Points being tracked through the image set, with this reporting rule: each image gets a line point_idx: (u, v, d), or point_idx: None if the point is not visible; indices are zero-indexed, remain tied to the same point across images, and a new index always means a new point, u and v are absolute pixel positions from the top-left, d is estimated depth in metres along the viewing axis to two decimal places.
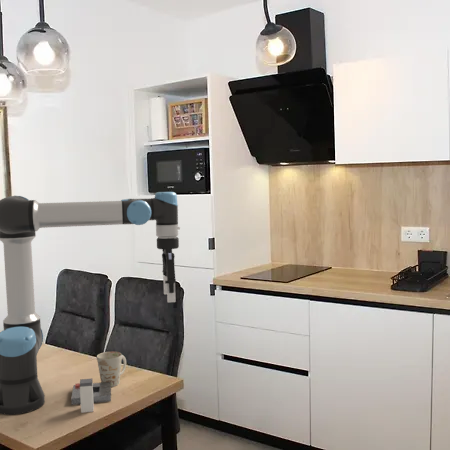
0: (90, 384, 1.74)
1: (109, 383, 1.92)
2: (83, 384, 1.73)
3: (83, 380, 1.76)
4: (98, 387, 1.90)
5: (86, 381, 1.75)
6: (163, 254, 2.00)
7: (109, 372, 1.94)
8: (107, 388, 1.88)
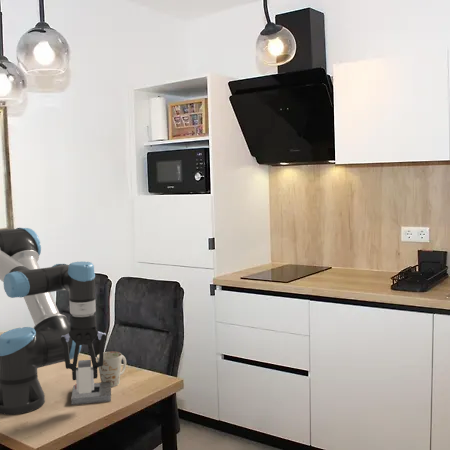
0: (88, 365, 1.73)
1: (109, 383, 1.92)
2: (81, 365, 1.73)
3: (81, 361, 1.75)
4: (98, 387, 1.90)
5: (84, 362, 1.74)
6: None
7: (109, 372, 1.94)
8: (107, 388, 1.88)
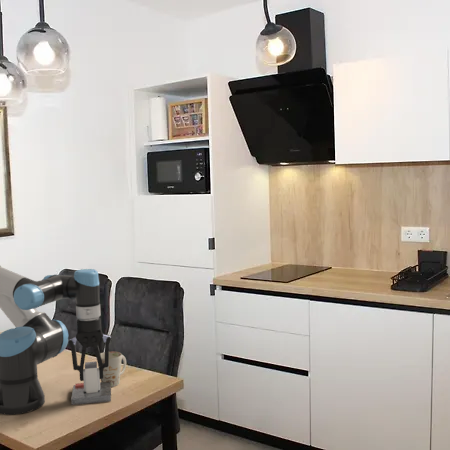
0: (94, 366, 1.84)
1: (109, 383, 1.92)
2: (88, 366, 1.84)
3: (88, 363, 1.86)
4: None
5: (91, 363, 1.85)
6: None
7: (109, 372, 1.94)
8: (107, 388, 1.88)
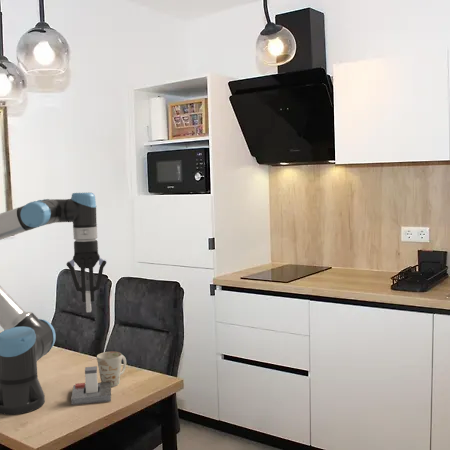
0: (95, 371, 1.84)
1: (109, 383, 1.92)
2: (88, 371, 1.84)
3: (88, 368, 1.86)
4: (98, 387, 1.90)
5: (91, 369, 1.85)
6: None
7: (109, 372, 1.94)
8: (107, 388, 1.88)
